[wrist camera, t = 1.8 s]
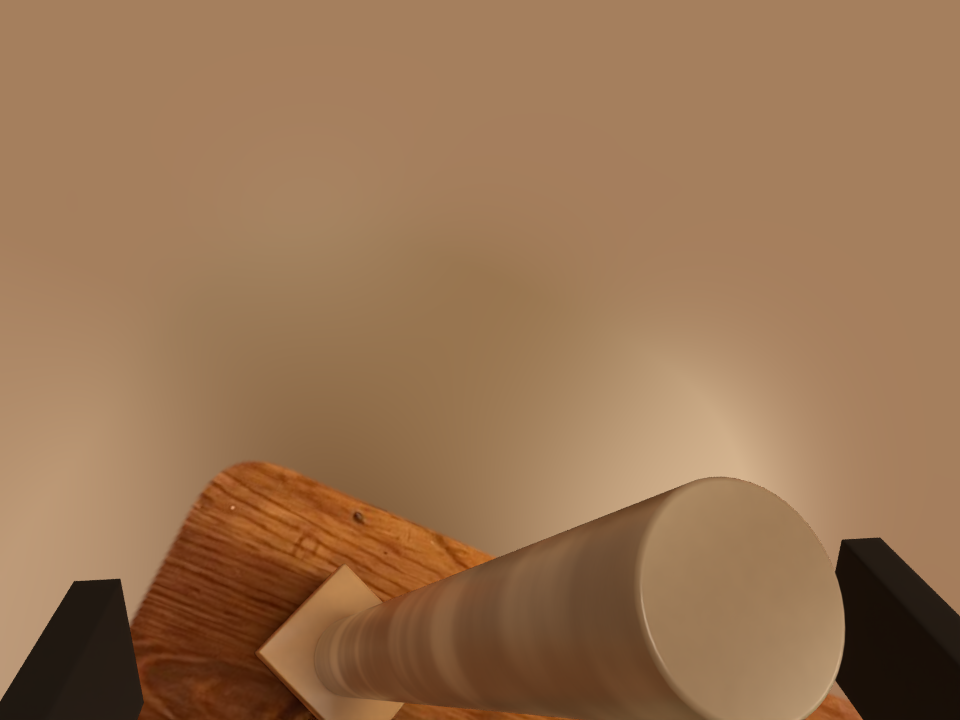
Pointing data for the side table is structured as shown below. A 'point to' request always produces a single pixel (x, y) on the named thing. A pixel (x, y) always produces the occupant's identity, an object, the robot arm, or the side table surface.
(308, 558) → the side table surface
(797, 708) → the paper towel holder
